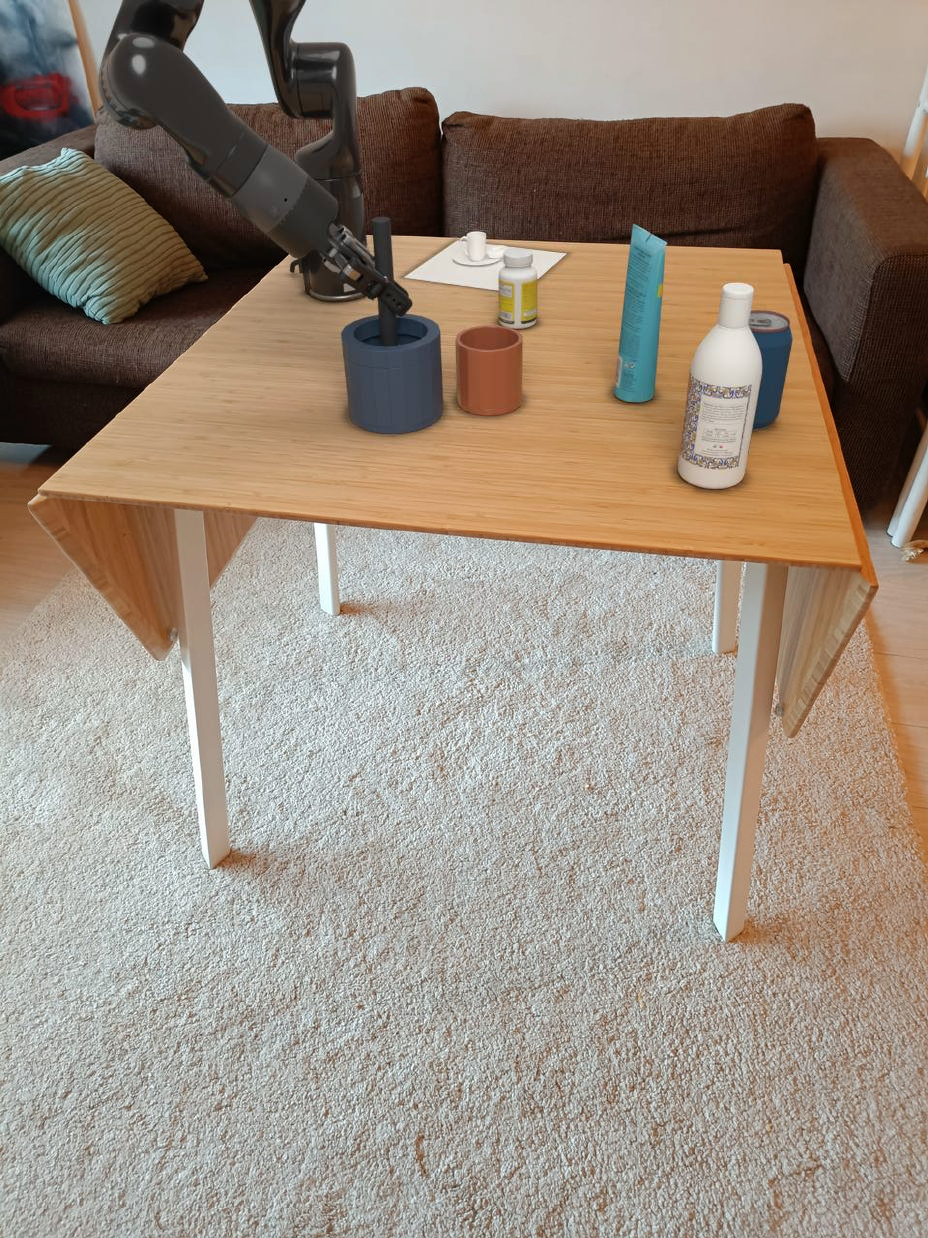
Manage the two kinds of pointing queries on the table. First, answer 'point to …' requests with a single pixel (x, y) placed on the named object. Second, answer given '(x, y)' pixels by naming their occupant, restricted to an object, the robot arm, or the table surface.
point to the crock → (489, 369)
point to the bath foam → (722, 396)
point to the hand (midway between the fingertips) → (405, 305)
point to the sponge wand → (385, 266)
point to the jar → (393, 375)
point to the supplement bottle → (517, 289)
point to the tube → (641, 318)
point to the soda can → (770, 362)
